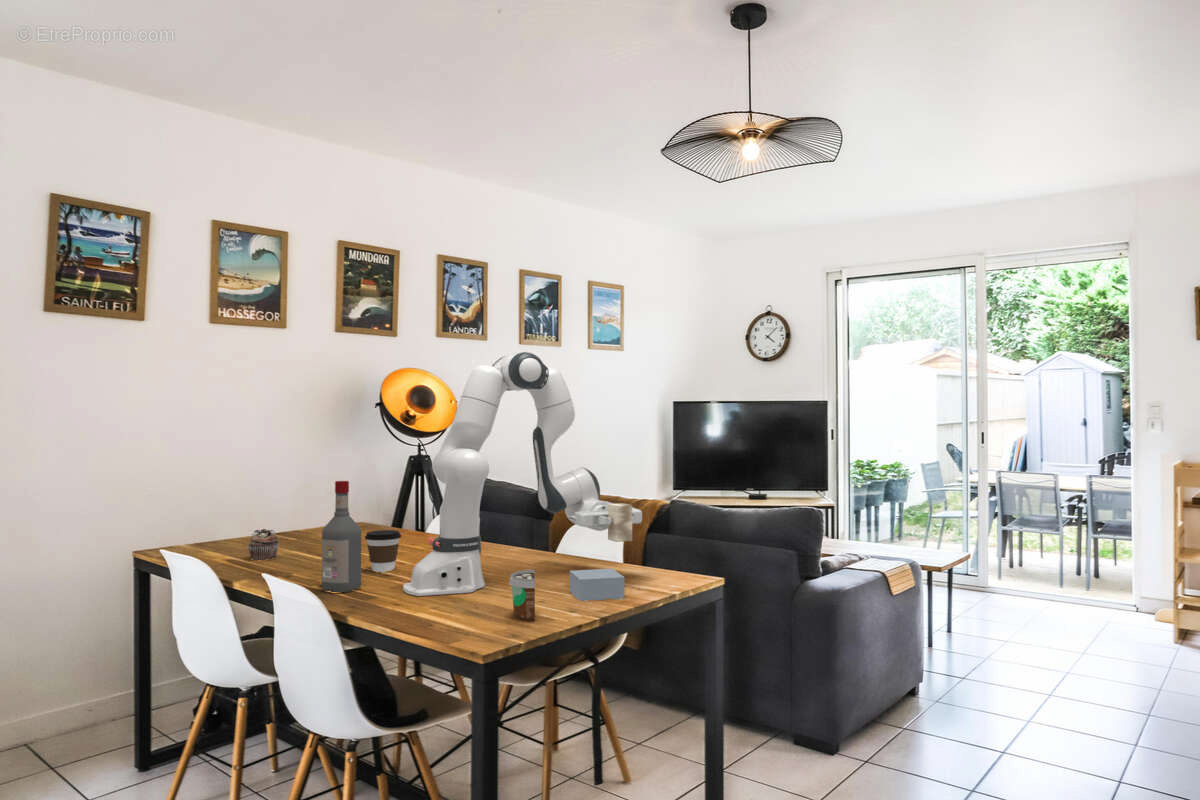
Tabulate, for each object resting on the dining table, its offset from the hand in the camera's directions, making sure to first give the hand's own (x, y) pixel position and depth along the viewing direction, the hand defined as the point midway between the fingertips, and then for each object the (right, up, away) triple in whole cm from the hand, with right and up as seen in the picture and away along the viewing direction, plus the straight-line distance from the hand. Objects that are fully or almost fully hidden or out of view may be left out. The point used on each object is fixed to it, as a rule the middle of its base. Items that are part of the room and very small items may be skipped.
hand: (621, 520), depth 219 cm
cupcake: (-120, -20, +45) cm, 130 cm away
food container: (-25, -18, -32) cm, 45 cm away
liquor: (-78, -19, -3) cm, 80 cm away
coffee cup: (-74, -20, +23) cm, 80 cm away
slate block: (-7, -19, -10) cm, 22 cm away
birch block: (0, -6, +1) cm, 6 cm away
